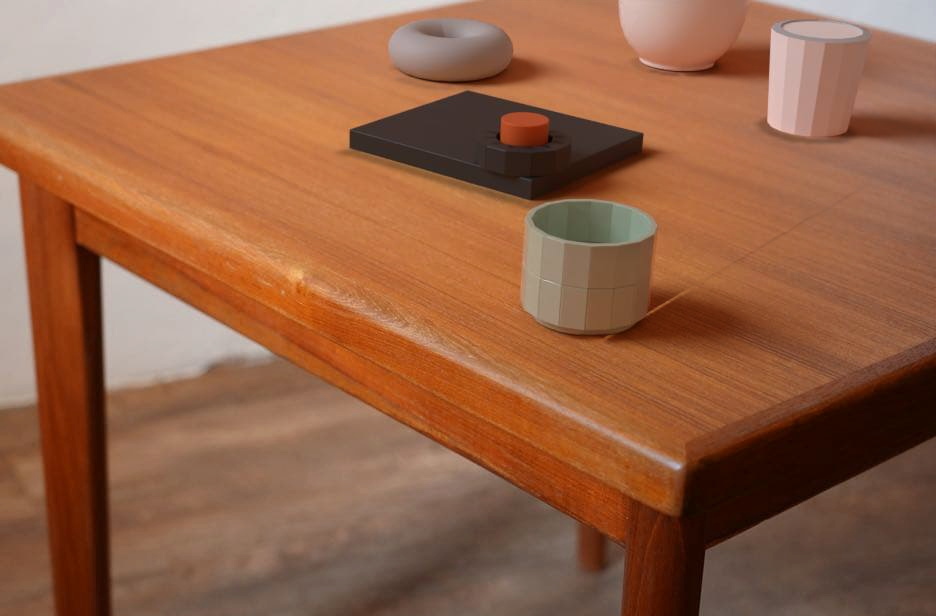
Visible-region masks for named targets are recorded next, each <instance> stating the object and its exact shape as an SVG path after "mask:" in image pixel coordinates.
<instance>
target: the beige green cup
mask: <svg viewBox="0 0 936 616" xmlns="http://www.w3.org/2000/svg"><path fill="white" fill-rule="evenodd" d="M658 234H659V224H658V223H657V221H656V219H654V216H653V215H651V214H649V213H647V212H645V211H644V210H642V209H640V208H639V207H636V206H632V205H629V204H625V203H621V202H618V201H611V200H602V199H597V198H566V199H560V200H553V201H548V202H544V203H541V204H540V205H537V206H535V207H533V208H530V210H529V211H528V212H527V214H526V215H525V216H524V225H523V242H522V256H521V257H522V261H521V262H522V263H521V273H520V274H521V275H520V292H519V300H520V303H521V306H522V308H523V310H524V311H525V312H527V313H528V314H530V315H531V317H532V318H533V319H534V321H536V322H537V323H538V324H540V325H542V326H543V327H546V328H548V329H551V330H554V331H557V332H559V333H560V332H561V333H565V334H569V335H576V336H581V335H592V336H593V335H607V334H608V335H609V334H610V335H613V334H617V333H622V332H624V331H627V330H629V329H631V328H632V327H634V326H635V325H636V324H637V322H639V321H641V320H643V319H645V318H646V317H647V315H648V313H649V310H650V307H651V299H652V298H651V297H652V287H653V279H654V271H655V270H654V269H655V260H656V252H657V251H656V250H657V243H658Z"/></svg>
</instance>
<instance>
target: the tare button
mask: <svg viewBox="0 0 936 616" xmlns="http://www.w3.org/2000/svg"><path fill="white" fill-rule="evenodd" d="M548 134H549V119H548V118H547V117H546V116H543V115H540V114H536V113H529V112H516V113H510V114H506V115H504V116H503V117H502V118H501V132H500V142H502V143H505V144H509V145H514V146H528V147H532V146H542V145H545V144H548Z"/></svg>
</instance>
